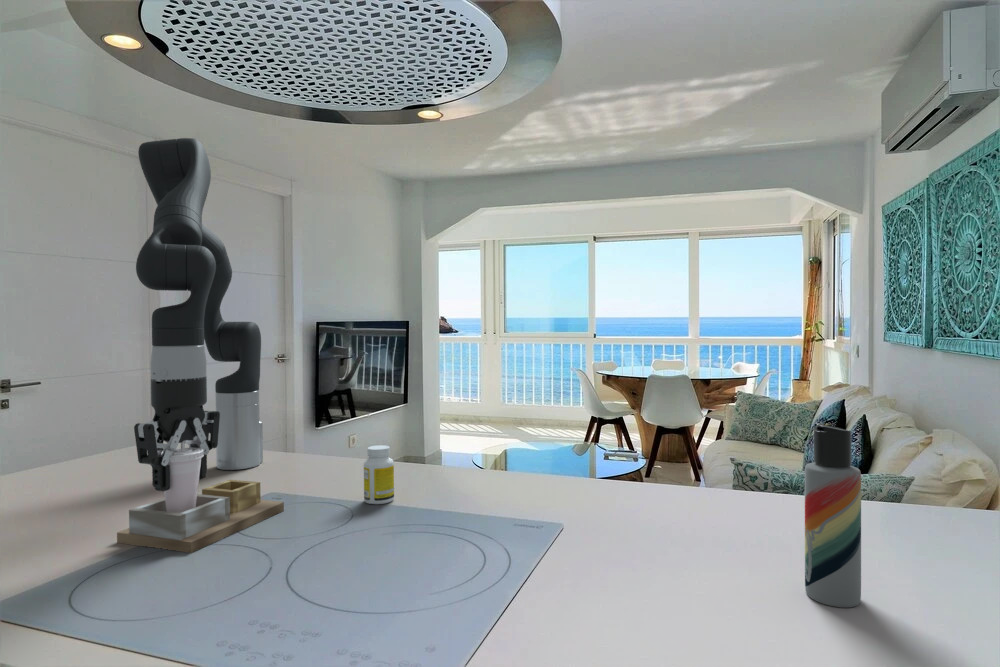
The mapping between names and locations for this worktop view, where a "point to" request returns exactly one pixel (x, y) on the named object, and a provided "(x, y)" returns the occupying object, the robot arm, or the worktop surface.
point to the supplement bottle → (378, 476)
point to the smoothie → (183, 479)
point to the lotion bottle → (833, 521)
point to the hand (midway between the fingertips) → (180, 483)
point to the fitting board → (199, 518)
